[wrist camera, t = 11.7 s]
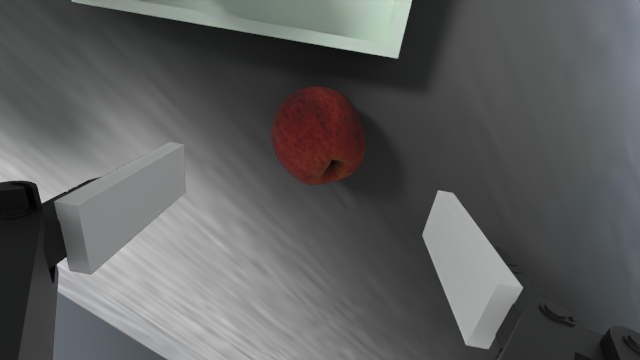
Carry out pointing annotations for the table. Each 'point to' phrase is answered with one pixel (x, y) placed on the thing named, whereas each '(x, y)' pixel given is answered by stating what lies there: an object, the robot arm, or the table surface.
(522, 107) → the table surface
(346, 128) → the apple
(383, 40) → the tote
